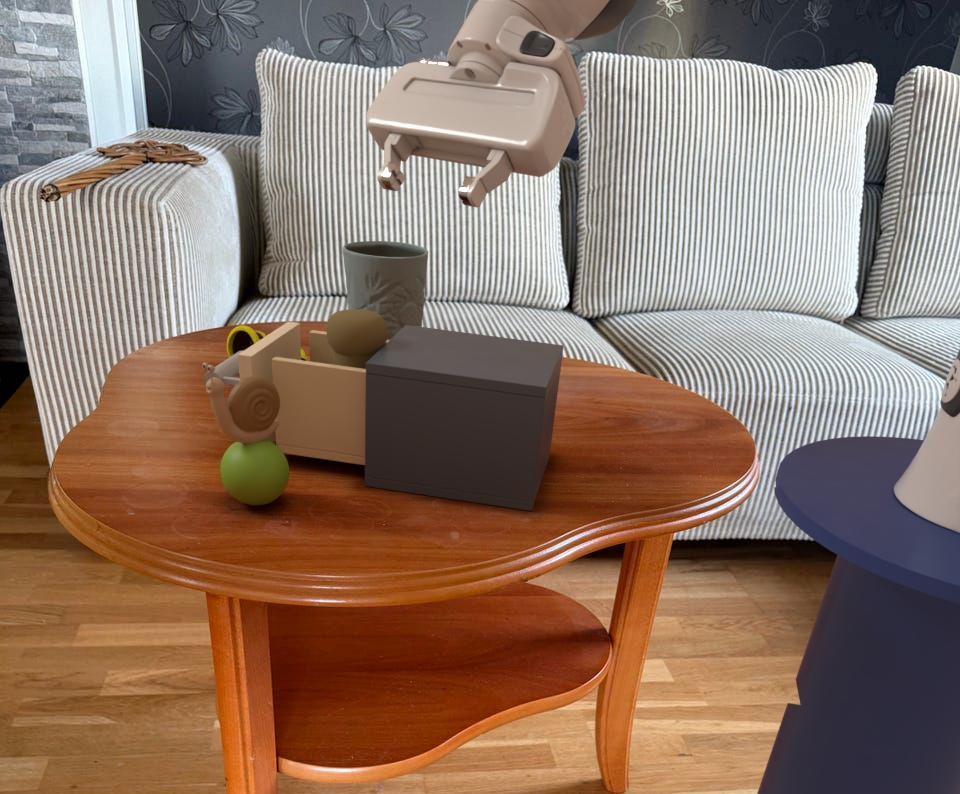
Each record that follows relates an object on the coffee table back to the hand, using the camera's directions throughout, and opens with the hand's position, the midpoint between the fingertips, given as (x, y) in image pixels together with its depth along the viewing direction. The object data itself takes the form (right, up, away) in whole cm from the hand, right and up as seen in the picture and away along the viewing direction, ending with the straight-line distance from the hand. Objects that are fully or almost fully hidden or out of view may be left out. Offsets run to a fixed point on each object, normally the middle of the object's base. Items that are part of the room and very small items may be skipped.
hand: (425, 193), depth 81 cm
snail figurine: (-14, -29, -7) cm, 33 cm away
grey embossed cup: (-7, -4, +32) cm, 33 cm away
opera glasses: (-19, -10, +21) cm, 30 cm away
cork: (-6, -22, +1) cm, 23 cm away
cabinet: (+3, -25, +2) cm, 25 cm away
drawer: (-10, -21, +3) cm, 24 cm away
